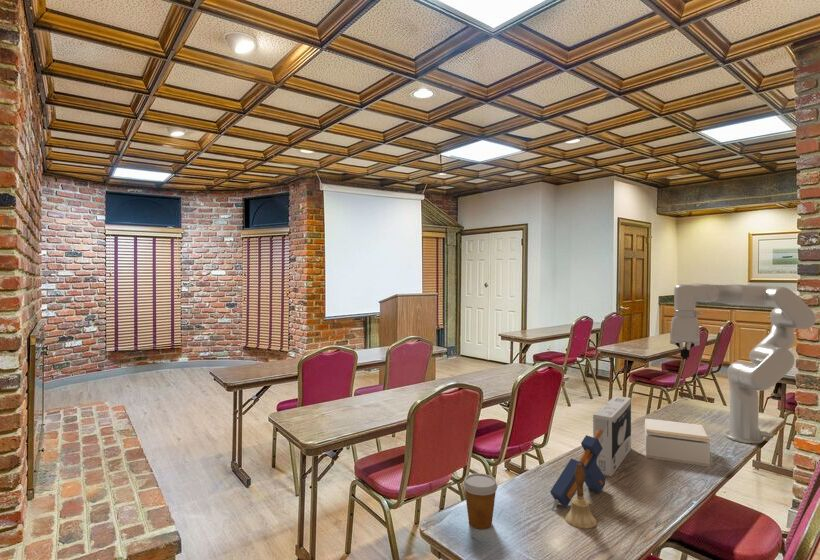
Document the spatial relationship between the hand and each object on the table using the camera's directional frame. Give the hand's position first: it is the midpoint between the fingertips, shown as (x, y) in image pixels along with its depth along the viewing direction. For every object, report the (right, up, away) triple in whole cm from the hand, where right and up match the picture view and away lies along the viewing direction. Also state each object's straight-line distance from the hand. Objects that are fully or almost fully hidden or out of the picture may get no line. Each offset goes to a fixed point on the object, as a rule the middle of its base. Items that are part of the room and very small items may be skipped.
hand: (684, 358), depth 189 cm
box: (-12, -33, -14) cm, 38 cm away
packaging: (-38, -34, -20) cm, 55 cm away
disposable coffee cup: (-94, -35, -62) cm, 118 cm away
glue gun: (-62, -35, -48) cm, 86 cm away
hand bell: (-66, -35, -61) cm, 96 cm away
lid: (-13, -25, -15) cm, 31 cm away
